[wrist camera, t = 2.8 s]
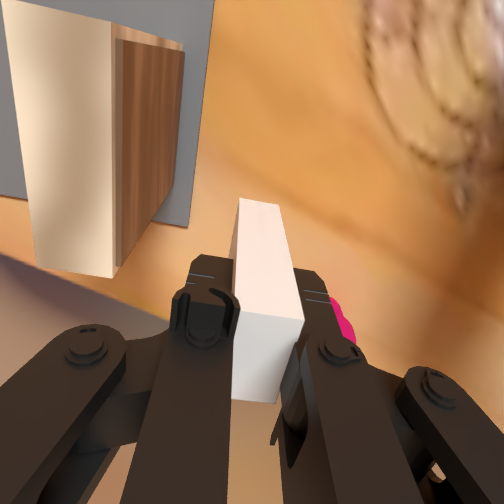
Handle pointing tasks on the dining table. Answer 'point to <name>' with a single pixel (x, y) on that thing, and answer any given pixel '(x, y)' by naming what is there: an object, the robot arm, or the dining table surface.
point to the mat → (195, 65)
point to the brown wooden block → (92, 132)
